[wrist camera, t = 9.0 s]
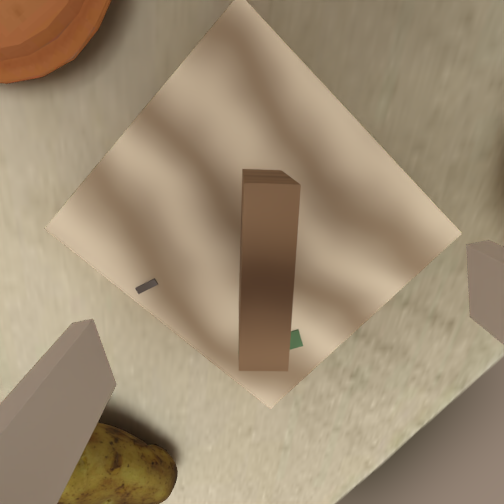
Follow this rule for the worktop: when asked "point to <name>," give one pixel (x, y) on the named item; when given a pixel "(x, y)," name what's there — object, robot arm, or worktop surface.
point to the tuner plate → (230, 196)
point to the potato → (120, 471)
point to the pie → (44, 34)
